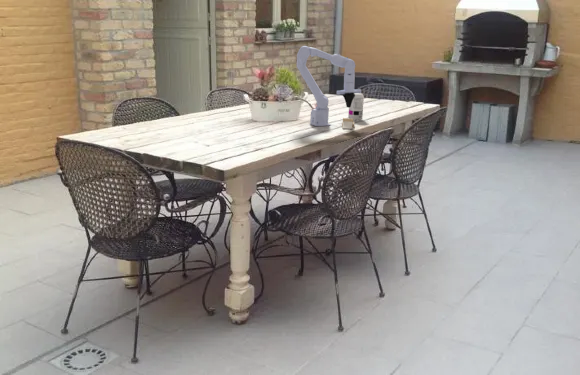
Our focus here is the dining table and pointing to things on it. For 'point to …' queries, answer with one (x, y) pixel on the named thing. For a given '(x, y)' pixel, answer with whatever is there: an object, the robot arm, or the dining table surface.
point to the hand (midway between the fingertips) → (348, 107)
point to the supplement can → (356, 107)
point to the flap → (347, 123)
